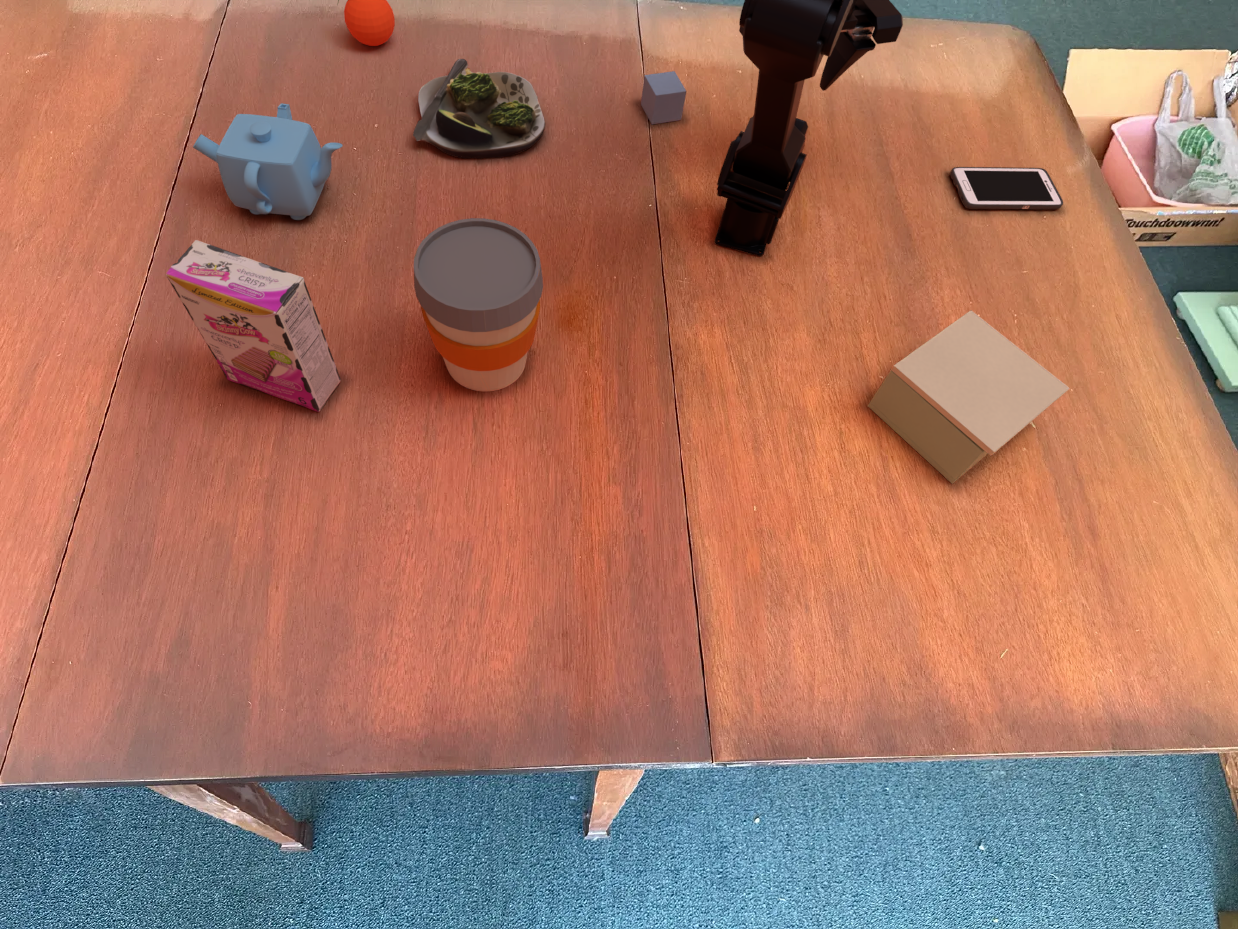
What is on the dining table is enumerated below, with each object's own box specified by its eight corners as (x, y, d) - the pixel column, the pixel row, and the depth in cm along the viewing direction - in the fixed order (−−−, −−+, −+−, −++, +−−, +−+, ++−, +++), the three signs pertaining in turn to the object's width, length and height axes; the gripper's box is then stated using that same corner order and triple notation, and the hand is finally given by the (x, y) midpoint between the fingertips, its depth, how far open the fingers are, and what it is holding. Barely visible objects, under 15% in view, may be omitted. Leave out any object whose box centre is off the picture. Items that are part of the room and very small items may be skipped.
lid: (1065, 392, 83) (1070, 387, 83) (990, 456, 78) (994, 452, 78) (967, 314, 88) (971, 309, 88) (890, 369, 83) (893, 365, 82)
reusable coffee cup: (493, 298, 92) (486, 198, 79) (565, 364, 88) (570, 269, 75) (405, 353, 87) (383, 255, 74) (478, 425, 83) (467, 334, 70)
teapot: (194, 223, 93) (159, 152, 85) (234, 146, 100) (206, 74, 92) (344, 243, 94) (325, 175, 85) (374, 166, 101) (359, 96, 92)
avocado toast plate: (404, 73, 111) (399, 42, 107) (528, 67, 114) (528, 36, 110) (417, 164, 102) (412, 134, 98) (551, 155, 105) (552, 125, 101)
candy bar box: (224, 382, 83) (160, 273, 68) (251, 348, 85) (194, 235, 71) (320, 416, 82) (275, 312, 67) (344, 380, 84) (305, 273, 70)
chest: (1024, 423, 90) (1058, 388, 84) (952, 484, 85) (983, 452, 79) (940, 351, 94) (967, 314, 88) (867, 405, 89) (890, 370, 83)
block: (651, 124, 110) (656, 95, 106) (640, 104, 112) (644, 74, 108) (681, 120, 112) (686, 90, 108) (669, 100, 114) (674, 70, 110)
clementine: (335, 49, 112) (323, -1, 106) (351, 22, 116) (341, -28, 110) (389, 59, 112) (381, 10, 106) (404, 32, 116) (397, -17, 110)
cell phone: (947, 171, 111) (950, 166, 110) (1041, 172, 113) (1045, 167, 112) (964, 210, 107) (967, 204, 106) (1062, 210, 109) (1066, 205, 108)
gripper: (881, -85, 90) (836, 44, 103) (735, -73, 85) (708, 61, 99) (930, -32, 85) (876, 97, 99) (778, -16, 81) (743, 117, 94)
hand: (800, 91), depth 98 cm, fingers open, 6 cm apart
